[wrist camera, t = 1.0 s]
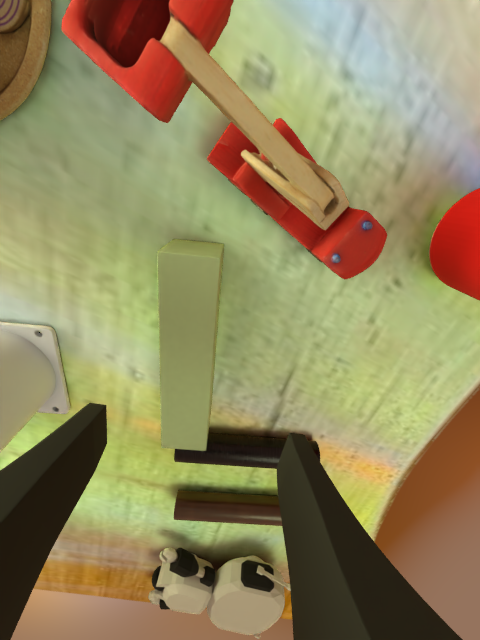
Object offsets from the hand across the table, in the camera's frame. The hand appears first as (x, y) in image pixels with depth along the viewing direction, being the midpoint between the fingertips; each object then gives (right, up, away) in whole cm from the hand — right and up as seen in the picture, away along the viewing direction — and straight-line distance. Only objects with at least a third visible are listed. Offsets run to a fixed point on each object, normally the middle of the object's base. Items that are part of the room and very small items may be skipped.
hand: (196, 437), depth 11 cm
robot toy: (-1, -25, +23) cm, 34 cm away
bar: (-2, +3, +10) cm, 10 cm away
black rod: (+2, -6, +14) cm, 16 cm away
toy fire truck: (+3, +13, +5) cm, 15 cm away
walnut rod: (+1, -13, +18) cm, 22 cm away
